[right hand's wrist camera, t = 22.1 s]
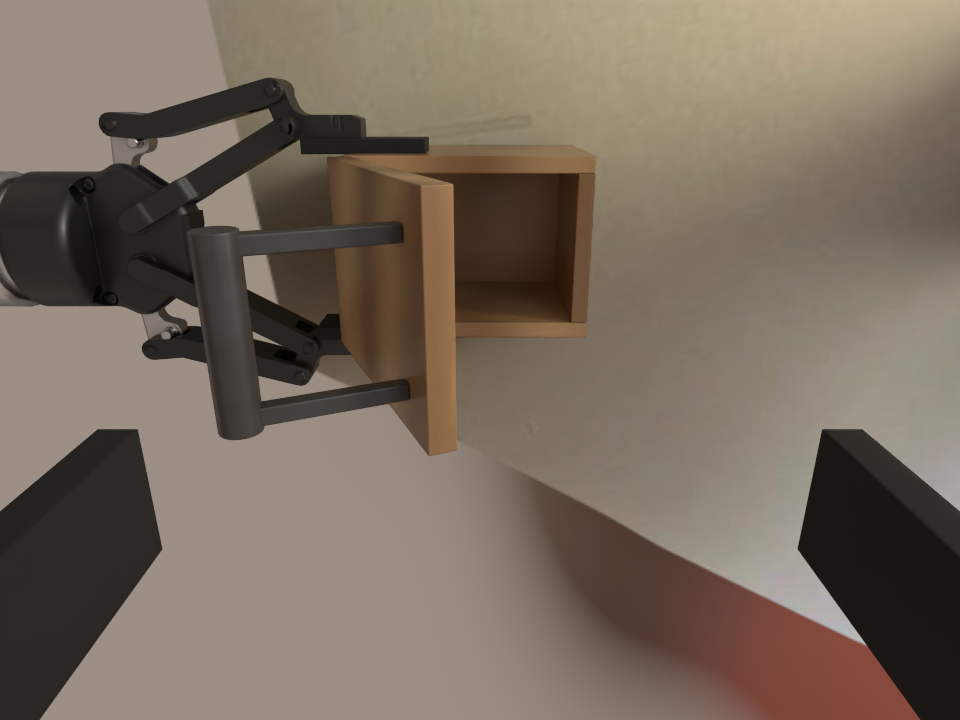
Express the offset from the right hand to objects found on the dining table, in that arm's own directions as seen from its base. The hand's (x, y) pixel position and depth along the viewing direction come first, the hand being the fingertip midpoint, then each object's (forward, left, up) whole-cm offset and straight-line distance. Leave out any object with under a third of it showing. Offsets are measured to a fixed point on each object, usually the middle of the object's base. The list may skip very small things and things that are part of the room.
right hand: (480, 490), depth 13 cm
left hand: (+1, -3, -26) cm, 27 cm away
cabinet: (0, 0, -34) cm, 34 cm away
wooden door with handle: (+2, -3, -17) cm, 17 cm away
